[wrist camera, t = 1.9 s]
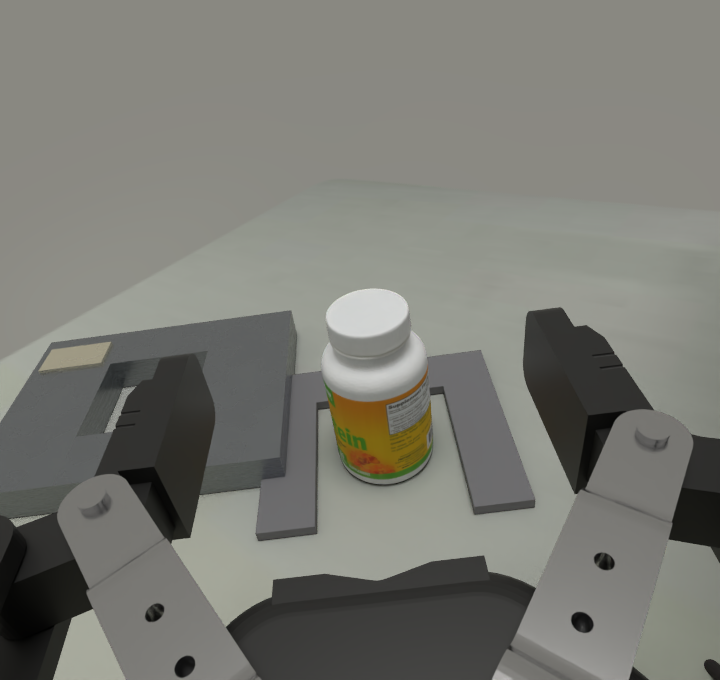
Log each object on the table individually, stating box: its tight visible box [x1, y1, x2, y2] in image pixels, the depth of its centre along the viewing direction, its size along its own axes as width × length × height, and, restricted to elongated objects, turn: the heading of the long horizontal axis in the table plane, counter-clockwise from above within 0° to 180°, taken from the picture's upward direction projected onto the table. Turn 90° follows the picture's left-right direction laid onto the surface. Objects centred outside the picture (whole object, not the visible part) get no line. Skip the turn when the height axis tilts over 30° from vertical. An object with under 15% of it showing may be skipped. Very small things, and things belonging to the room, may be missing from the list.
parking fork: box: [256, 350, 535, 541], centre depth 33 cm, size 12×14×1 cm
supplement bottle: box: [321, 289, 433, 484], centre depth 29 cm, size 5×5×10 cm
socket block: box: [0, 311, 297, 519], centre depth 36 cm, size 18×14×2 cm
